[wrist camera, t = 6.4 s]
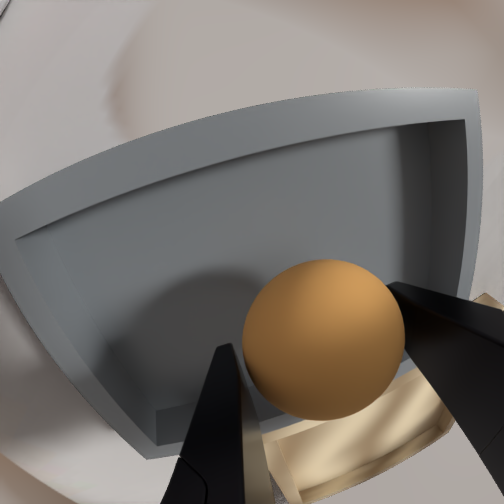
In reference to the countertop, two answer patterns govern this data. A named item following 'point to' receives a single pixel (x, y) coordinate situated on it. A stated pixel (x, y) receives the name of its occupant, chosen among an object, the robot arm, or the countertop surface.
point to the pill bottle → (3, 5)
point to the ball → (323, 340)
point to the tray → (235, 238)
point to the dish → (358, 439)
